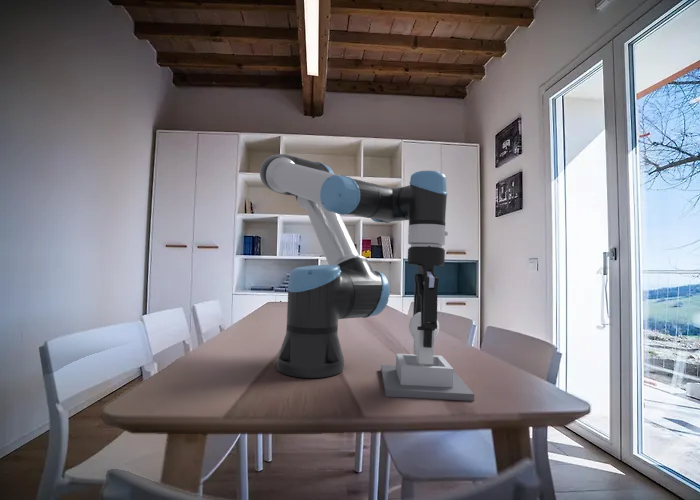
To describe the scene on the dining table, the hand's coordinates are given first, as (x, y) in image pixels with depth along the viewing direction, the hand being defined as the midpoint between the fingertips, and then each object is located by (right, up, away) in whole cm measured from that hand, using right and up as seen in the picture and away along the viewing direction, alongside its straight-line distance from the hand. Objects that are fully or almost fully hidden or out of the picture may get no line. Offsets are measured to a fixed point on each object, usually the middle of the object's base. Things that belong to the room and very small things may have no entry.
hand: (422, 358), depth 73 cm
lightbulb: (0, -2, 0) cm, 2 cm away
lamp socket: (0, -5, 0) cm, 5 cm away
